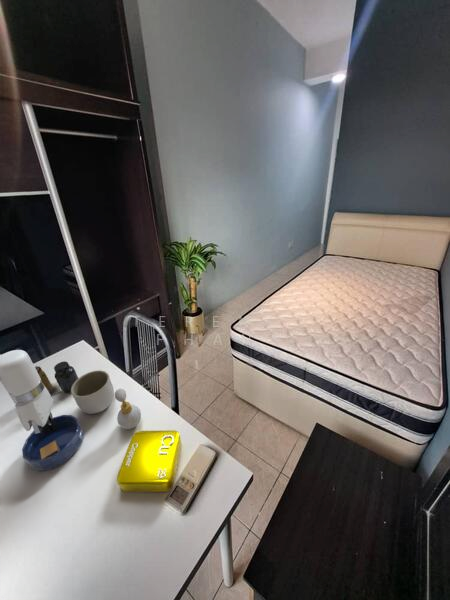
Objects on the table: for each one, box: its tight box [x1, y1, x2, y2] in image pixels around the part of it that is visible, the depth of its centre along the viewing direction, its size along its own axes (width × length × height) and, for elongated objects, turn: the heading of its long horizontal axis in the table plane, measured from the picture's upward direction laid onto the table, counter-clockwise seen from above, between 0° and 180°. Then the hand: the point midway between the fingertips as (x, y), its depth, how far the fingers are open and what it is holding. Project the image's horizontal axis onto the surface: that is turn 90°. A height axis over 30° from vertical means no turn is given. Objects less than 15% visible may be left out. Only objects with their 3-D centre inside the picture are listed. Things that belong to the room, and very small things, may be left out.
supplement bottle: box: [53, 361, 79, 394], centre depth 98 cm, size 7×7×12 cm
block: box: [40, 441, 60, 459], centre depth 75 cm, size 4×4×4 cm
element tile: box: [116, 430, 182, 493], centre depth 72 cm, size 15×15×5 cm
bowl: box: [21, 414, 85, 472], centre depth 78 cm, size 15×15×5 cm
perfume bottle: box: [114, 388, 142, 430], centre depth 83 cm, size 8×10×12 cm
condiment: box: [34, 365, 61, 396], centre depth 97 cm, size 7×8×12 cm
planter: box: [70, 370, 115, 415], centre depth 90 cm, size 12×12×11 cm
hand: (51, 430), depth 78 cm, fingers closed
